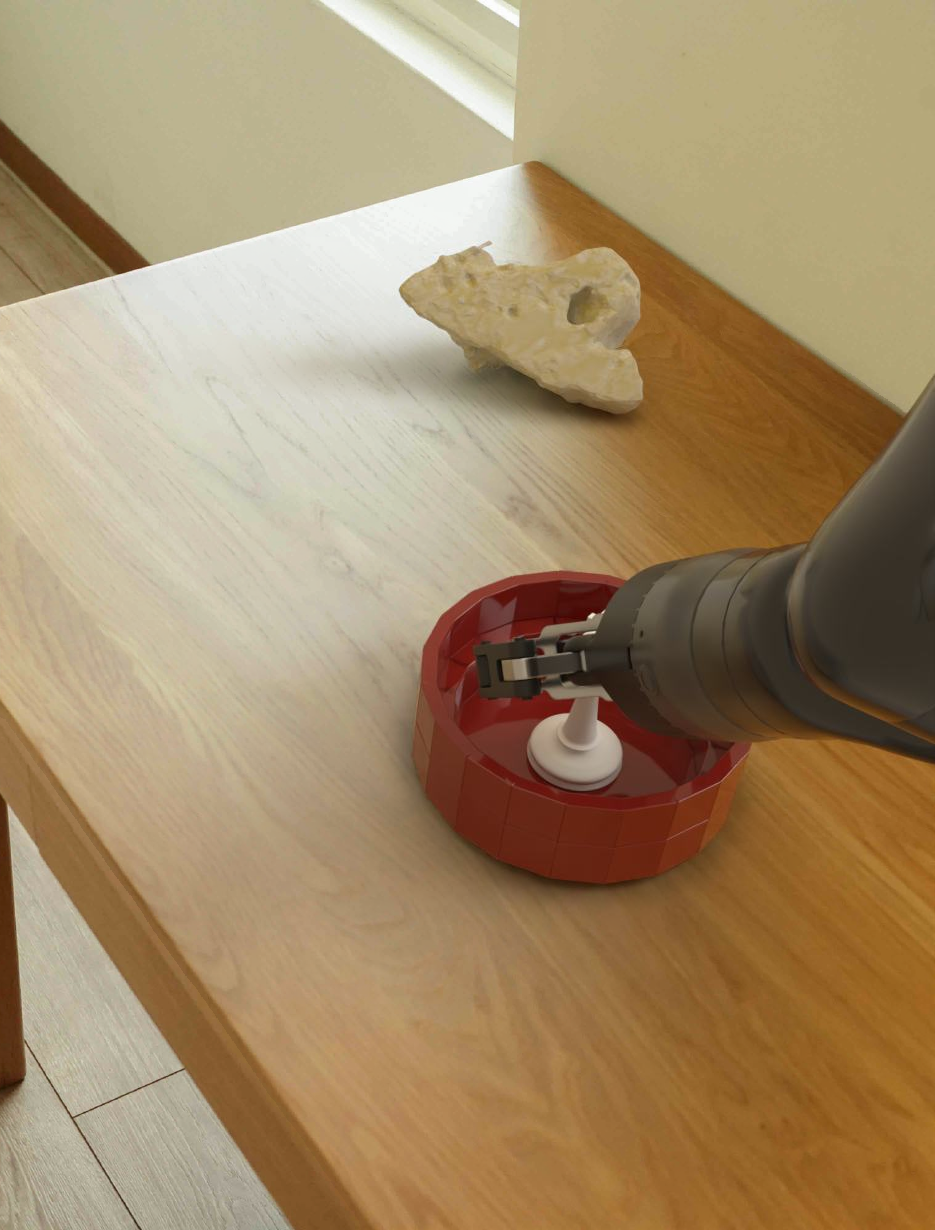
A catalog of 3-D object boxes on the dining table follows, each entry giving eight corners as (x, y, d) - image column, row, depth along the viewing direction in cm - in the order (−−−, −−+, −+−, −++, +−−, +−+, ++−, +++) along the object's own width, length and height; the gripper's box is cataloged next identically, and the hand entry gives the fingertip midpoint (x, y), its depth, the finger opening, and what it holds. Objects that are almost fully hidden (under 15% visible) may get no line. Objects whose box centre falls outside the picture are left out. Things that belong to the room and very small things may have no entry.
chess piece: (585, 807, 77) (620, 664, 70) (507, 755, 79) (534, 613, 73) (640, 755, 80) (679, 613, 73) (563, 707, 82) (593, 565, 75)
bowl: (658, 635, 88) (679, 555, 84) (785, 862, 76) (817, 782, 72) (377, 671, 84) (385, 589, 80) (463, 914, 73) (477, 832, 69)
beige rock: (666, 393, 109) (565, 208, 109) (701, 372, 102) (594, 173, 102) (481, 493, 108) (379, 304, 108) (504, 478, 100) (394, 276, 100)
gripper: (875, 533, 62) (702, 565, 78) (541, 572, 60) (433, 598, 76) (900, 717, 62) (722, 711, 78) (566, 765, 59) (453, 749, 75)
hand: (580, 656), depth 77 cm, fingers open, 7 cm apart
